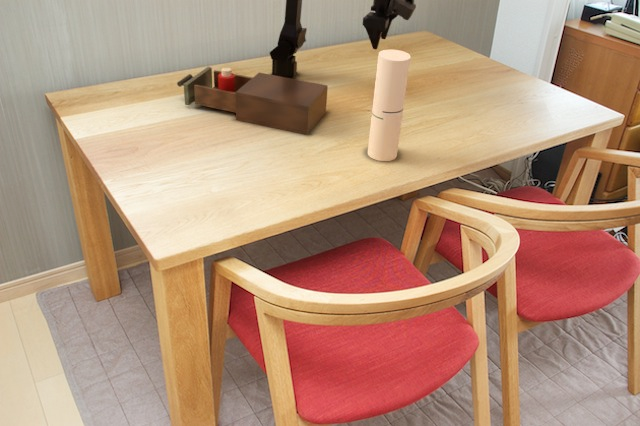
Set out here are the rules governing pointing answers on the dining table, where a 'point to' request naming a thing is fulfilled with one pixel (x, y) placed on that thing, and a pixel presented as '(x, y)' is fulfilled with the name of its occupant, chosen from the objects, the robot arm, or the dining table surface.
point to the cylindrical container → (388, 104)
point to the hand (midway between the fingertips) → (379, 44)
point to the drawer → (210, 90)
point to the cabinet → (281, 103)
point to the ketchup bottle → (226, 80)
